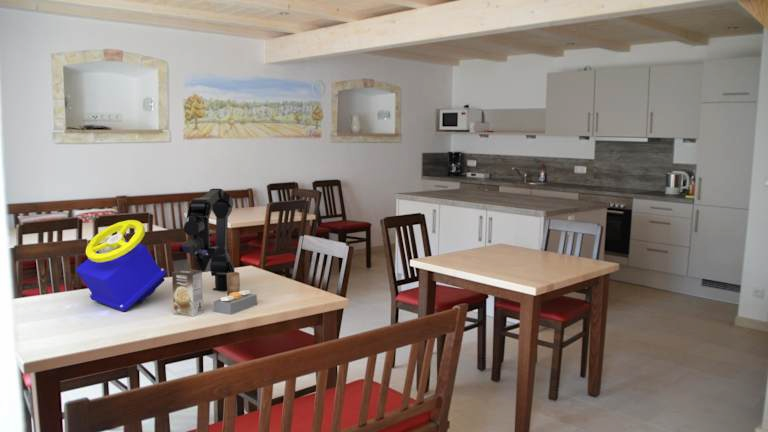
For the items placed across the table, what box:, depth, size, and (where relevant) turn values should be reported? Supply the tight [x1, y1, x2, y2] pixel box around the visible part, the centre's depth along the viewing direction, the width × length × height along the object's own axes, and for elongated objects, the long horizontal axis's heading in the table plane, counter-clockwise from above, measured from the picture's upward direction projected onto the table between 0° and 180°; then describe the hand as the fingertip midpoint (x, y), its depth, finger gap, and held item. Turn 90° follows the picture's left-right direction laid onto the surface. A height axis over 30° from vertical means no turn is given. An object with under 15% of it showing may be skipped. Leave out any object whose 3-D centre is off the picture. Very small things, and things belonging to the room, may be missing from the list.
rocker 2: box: [237, 289, 251, 295], centre depth 245 cm, size 4×3×1 cm
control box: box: [75, 219, 168, 313], centre depth 244 cm, size 26×27×30 cm
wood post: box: [226, 271, 241, 296], centre depth 256 cm, size 5×5×10 cm
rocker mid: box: [229, 292, 242, 299], centre depth 241 cm, size 4×3×1 cm
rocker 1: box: [220, 295, 234, 301], centre depth 237 cm, size 4×3×1 cm
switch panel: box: [213, 293, 258, 315], centre depth 242 cm, size 8×15×4 cm, turn 152°
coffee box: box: [171, 268, 204, 318], centre depth 234 cm, size 9×6×16 cm
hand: (203, 271), depth 246 cm, fingers closed
